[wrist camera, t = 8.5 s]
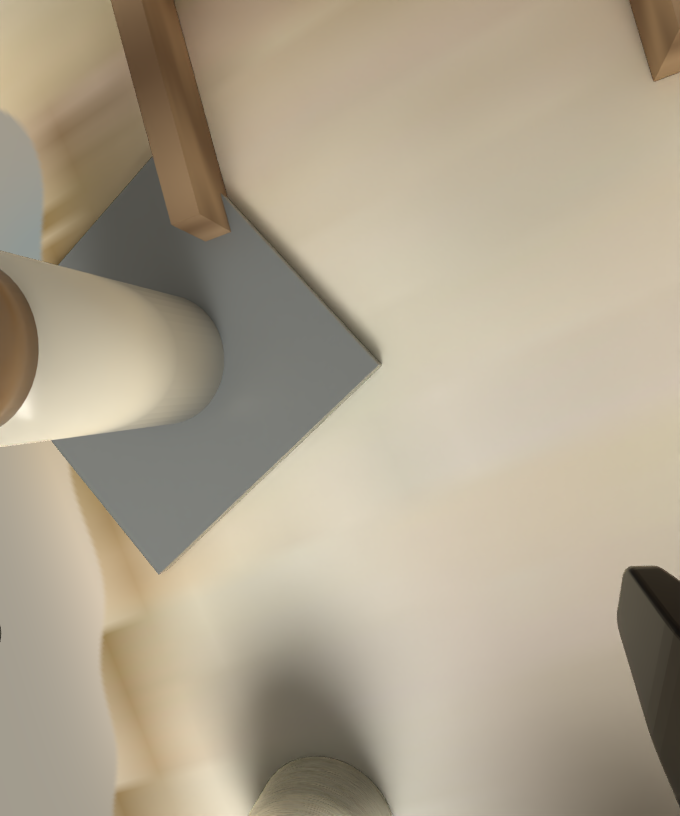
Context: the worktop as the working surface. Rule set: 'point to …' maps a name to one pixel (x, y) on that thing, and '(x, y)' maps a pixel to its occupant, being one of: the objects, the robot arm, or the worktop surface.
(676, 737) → the robot arm
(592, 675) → the worktop surface
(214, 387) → the jar
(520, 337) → the worktop surface
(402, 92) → the worktop surface
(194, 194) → the wooden u-shaped frame
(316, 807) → the tin
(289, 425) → the pad
